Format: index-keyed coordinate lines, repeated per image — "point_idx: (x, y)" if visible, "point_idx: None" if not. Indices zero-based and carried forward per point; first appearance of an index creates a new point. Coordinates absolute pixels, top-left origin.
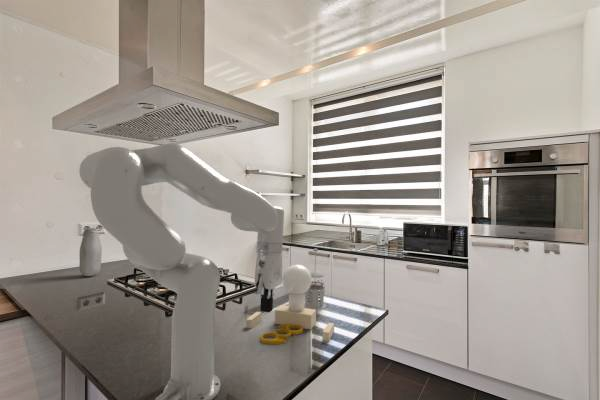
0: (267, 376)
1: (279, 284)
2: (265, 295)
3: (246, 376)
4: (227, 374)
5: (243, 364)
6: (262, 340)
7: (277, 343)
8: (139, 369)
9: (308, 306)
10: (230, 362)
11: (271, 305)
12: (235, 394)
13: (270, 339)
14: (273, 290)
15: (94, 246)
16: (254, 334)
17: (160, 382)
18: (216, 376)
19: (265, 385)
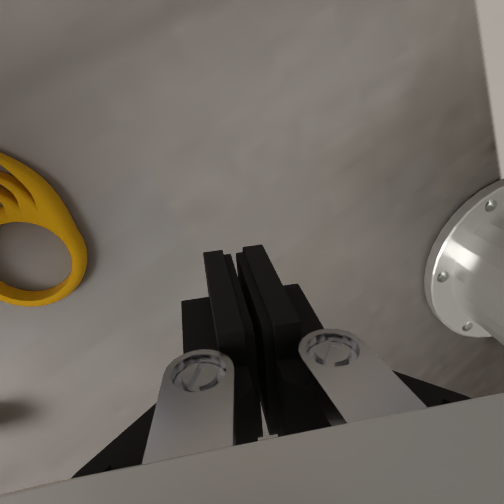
0: (358, 63)
1: (72, 489)
2: (426, 387)
3: (383, 152)
4: (391, 227)
5: (309, 218)
6: (84, 271)
7: (49, 185)
8: None
9: None
10: (315, 272)
11: (233, 279)
12: (492, 120)
13: (60, 234)
14: (192, 430)
15: None
16: (34, 350)
17: (475, 360)
18: (449, 238)
19: (420, 35)
